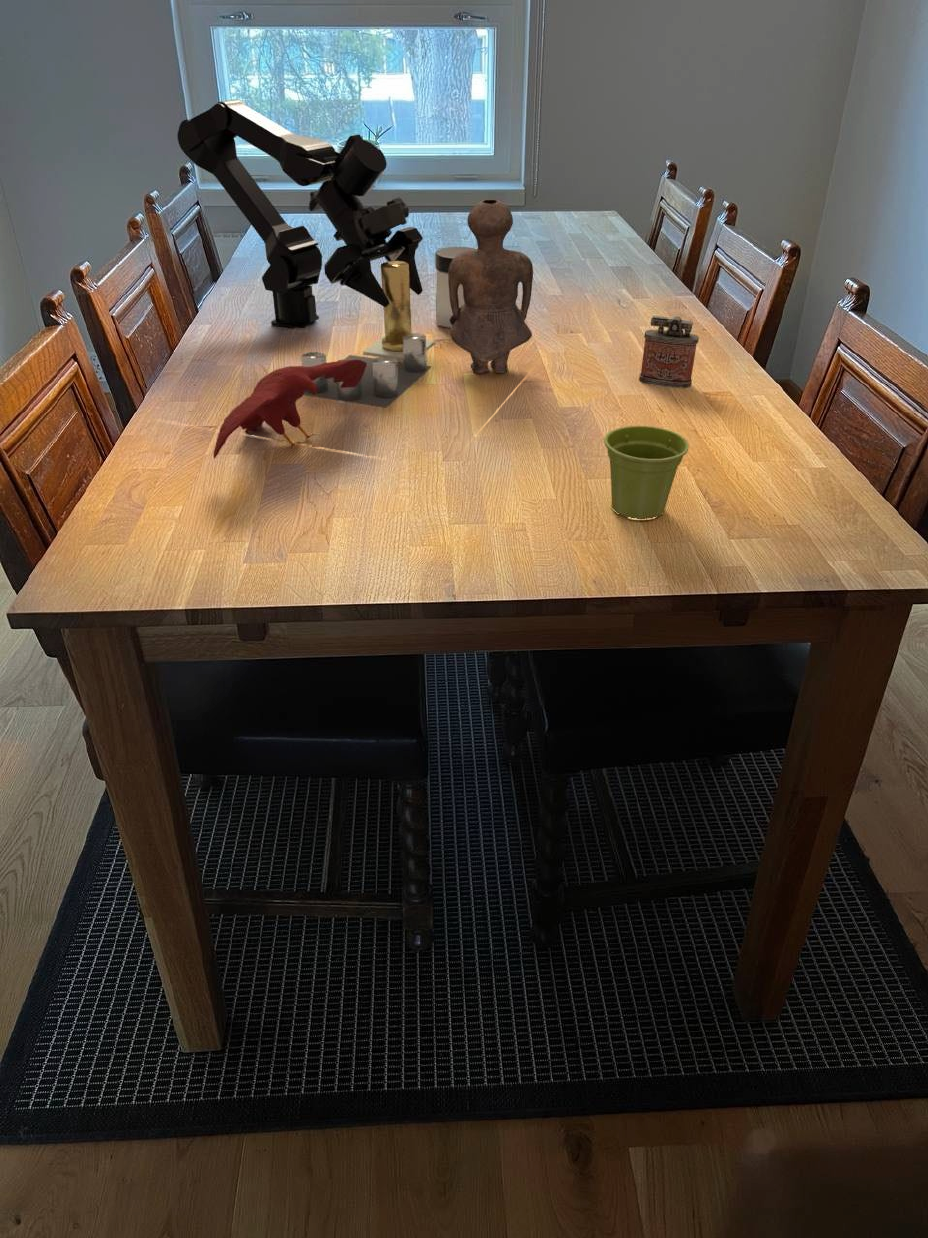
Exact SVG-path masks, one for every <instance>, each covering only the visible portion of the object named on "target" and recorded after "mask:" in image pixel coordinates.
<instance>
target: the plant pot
mask: <svg viewBox="0 0 928 1238" xmlns="http://www.w3.org/2000/svg"><path fill="white" fill-rule="evenodd" d="M603 440H604V441H603V443H604V446H605V448H607V456H608V458H609V467H610V468H609V469H610V487H611V488H610V490H611V491H610V492H611V493H610V494H611V509H612V508H613V509H614V510H615V511H616V512H617V513H619V514H621V515H620V516H624V517H625V516H626V518H627V517H631V518H637V519H645V518H646V519H647V518H653V517H656V516H658V517H659V516H661V514H662V513H663V512H664V513H665V509H666V506H667V502H668V500H669V496H670V493H671V489H672V487H673V483H674V480H675V478H676V473H677V470H678V466H679V465H680V464H681V463H682V461H683V458H684V457H685V455H687V453H688V451H689V449H690V444H689V442H688V440H687V439H686V438H685V437H683V436H682V434H679V433H677V432H675V431H673V430H669V429H667V428H663V427H657V426H650V425H627V426H622V427H618V428H615V429H613V430H610V431H609V432H608V433H607V434H605V437H604V439H603ZM613 509H612V510H613ZM664 513H663V514H664ZM663 514H662V515H663Z"/></svg>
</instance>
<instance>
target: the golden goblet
mask: <svg viewBox="0 0 928 1238" xmlns="http://www.w3.org/2000/svg"><path fill="white" fill-rule="evenodd" d="M380 275H381V277H380V279H381V288H382V289H383V291H384V293H385V294H386V296H387V298H388V300H389V305H388V306H387V307H383V306H382V307H383V309H382V310H383V321H384V323H383V324H384V336H385V337H384V338H383V339H382V347H383V349H385V350H387V351H392V352H403V336H404V335H406V334H411V333H413V332H412V314H411V313H412V310H411V289H410V284H409V264H408V263H406V262H402V261H389V262H388V261H386V262H381V264H380Z"/></svg>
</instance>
